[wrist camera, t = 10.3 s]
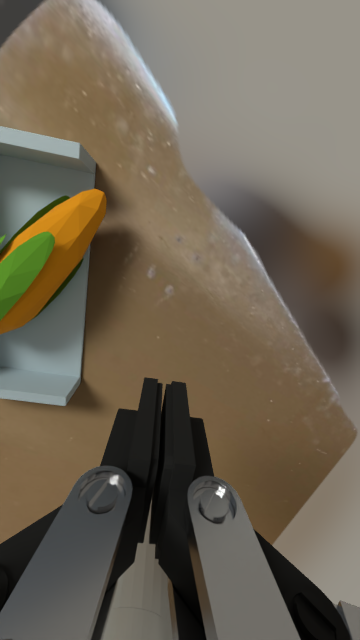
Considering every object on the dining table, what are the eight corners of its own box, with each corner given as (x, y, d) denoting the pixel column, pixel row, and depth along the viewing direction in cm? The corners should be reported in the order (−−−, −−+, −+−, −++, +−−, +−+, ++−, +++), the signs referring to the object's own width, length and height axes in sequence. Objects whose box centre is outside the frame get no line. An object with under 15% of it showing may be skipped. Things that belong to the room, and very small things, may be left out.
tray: (80, 383, 33) (65, 406, 29) (-15, 371, 32) (-48, 392, 28) (96, 162, 26) (79, 143, 21) (-27, 136, 25) (-73, 110, 20)
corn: (-94, 314, 22) (49, 137, 18) (-31, 294, 29) (79, 164, 26) (-17, 365, 24) (123, 215, 21) (23, 335, 31) (132, 220, 28)
